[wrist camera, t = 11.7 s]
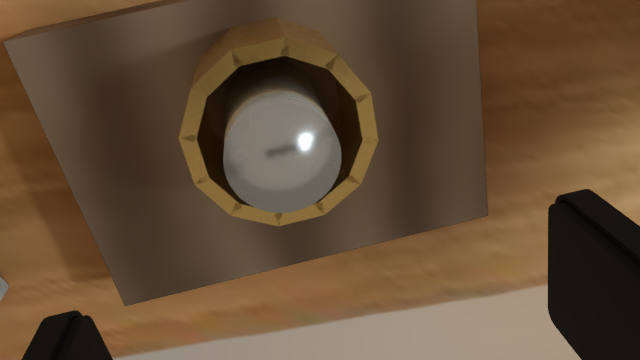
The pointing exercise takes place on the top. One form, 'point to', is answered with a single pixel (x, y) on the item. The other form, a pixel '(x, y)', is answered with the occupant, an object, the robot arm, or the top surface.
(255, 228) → the walnut stand
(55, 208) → the top surface
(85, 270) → the top surface
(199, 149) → the brass ring
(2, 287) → the skincare box
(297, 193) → the piston post
